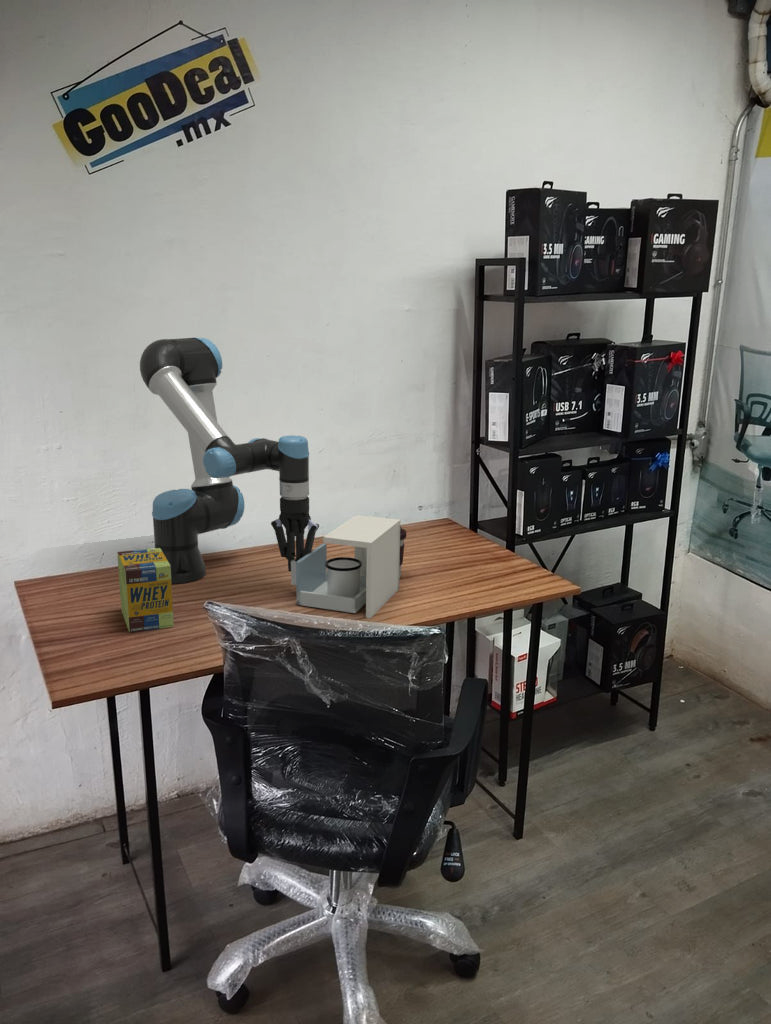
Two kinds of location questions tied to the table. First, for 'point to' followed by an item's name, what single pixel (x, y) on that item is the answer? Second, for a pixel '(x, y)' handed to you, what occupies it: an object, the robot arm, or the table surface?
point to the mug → (343, 576)
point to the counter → (373, 555)
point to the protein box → (145, 589)
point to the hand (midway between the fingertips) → (296, 583)
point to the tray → (322, 584)
